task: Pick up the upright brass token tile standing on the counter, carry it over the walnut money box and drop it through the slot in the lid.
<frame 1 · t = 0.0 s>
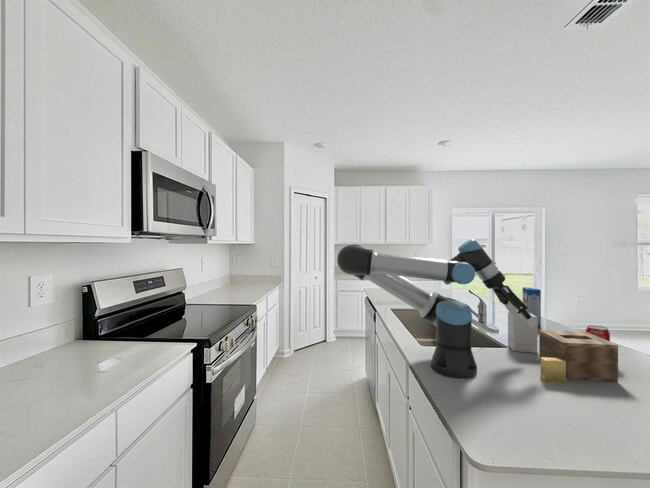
hand: (525, 321, 123), 15 cm above the counter, tool tilted 35°, fingers open, 13 cm apart
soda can: (597, 361, 123), on the counter
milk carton: (531, 325, 179), on the counter
supplement box: (522, 349, 138), on the counter
token: (552, 380, 106), on the counter
coin box: (575, 371, 114), on the counter
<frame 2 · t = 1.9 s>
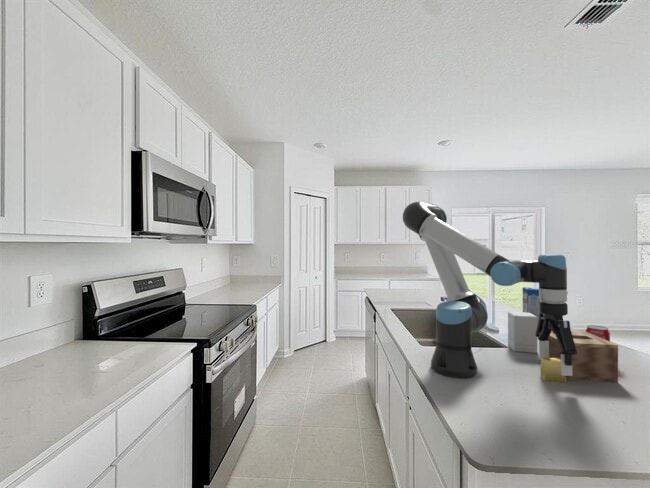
hand: (554, 367, 105), 4 cm above the counter, tool pointing down, fingers open, 13 cm apart
nothing on the counter moved.
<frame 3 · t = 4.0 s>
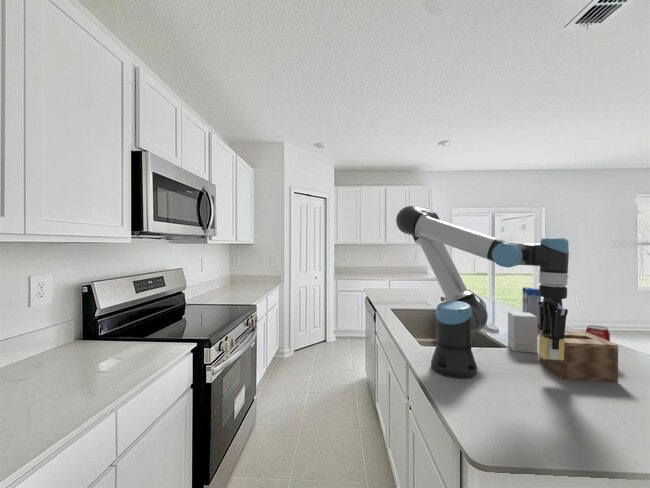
hand: (550, 356, 106), 8 cm above the counter, tool pointing down, fingers closed on token, 3 cm apart
token: (551, 358, 106), point 7 cm above the counter, touching gripper
everything else where it was.
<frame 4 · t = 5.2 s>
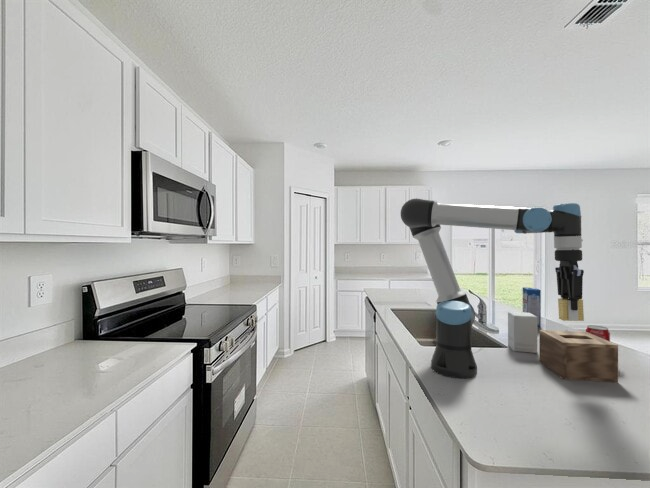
hand: (570, 318, 110), 19 cm above the counter, tool pointing down, fingers closed on token, 3 cm apart
token: (571, 319, 110), point 19 cm above the counter, touching gripper
everything else where it was.
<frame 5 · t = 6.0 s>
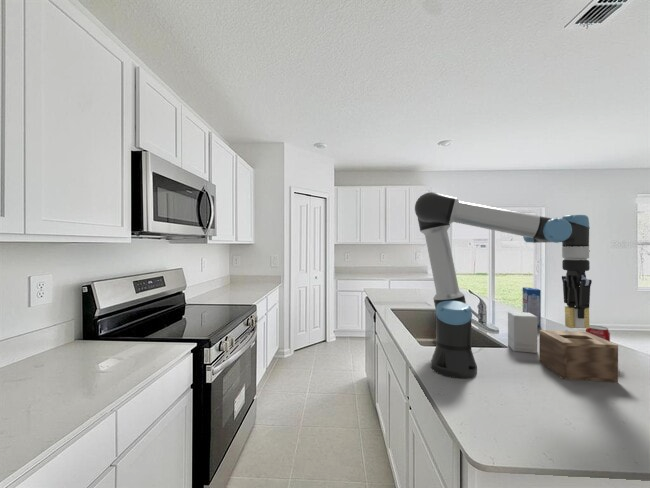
hand: (576, 326, 113), 16 cm above the counter, tool pointing down, fingers closed on token, 3 cm apart
token: (577, 327, 113), point 15 cm above the counter, touching gripper
everything else where it was.
when the fingers open (14 cm above the counter, at t = 6.4 s): token drops 11 cm and tips over, resting on coin box.
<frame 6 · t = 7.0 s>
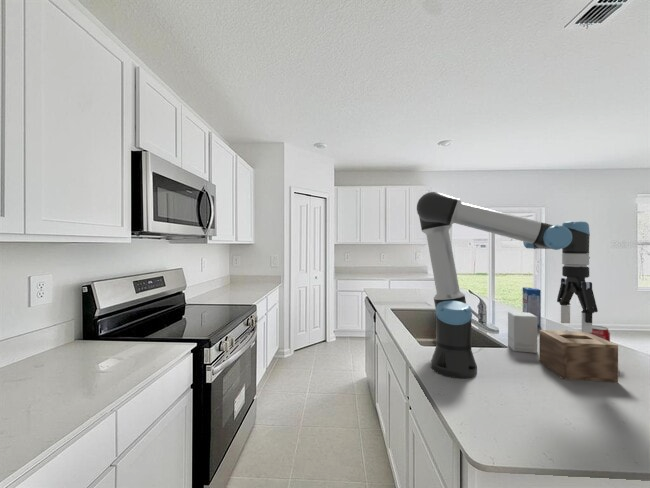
hand: (575, 327, 114), 15 cm above the counter, tool pointing down, fingers open, 12 cm apart
token: (575, 364, 114), point 2 cm above the counter, tilted 52°, touching coin box
everything else where it was.
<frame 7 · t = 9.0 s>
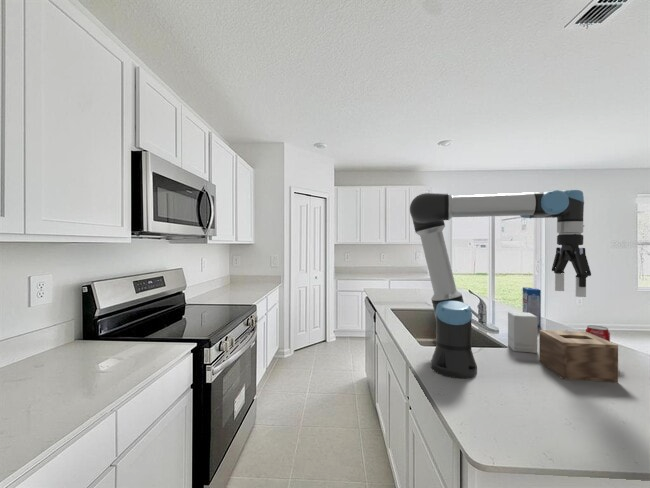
hand: (569, 293, 115), 27 cm above the counter, tool pointing down, fingers open, 13 cm apart
nothing on the counter moved.
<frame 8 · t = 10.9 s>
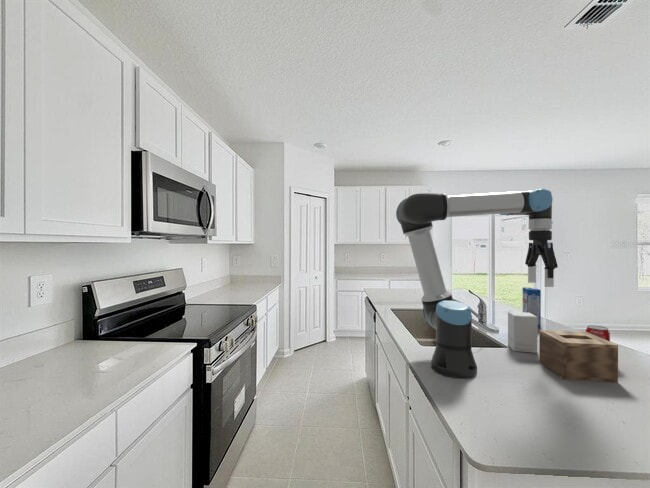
hand: (540, 284, 126), 29 cm above the counter, tool pointing down, fingers open, 13 cm apart
nothing on the counter moved.
at the end: token inside the target area on the coin box (0.6 cm from its centre), point 2.2 cm above the coin box's base; the gripper is holding nothing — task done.
